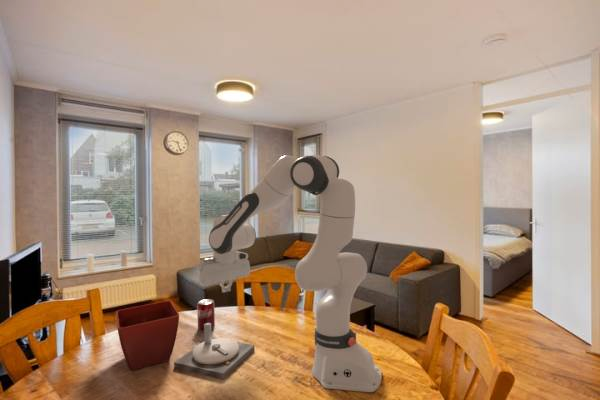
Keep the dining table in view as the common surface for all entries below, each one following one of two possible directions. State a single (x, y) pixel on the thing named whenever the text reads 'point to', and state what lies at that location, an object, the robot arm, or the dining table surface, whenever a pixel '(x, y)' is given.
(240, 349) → the dial base
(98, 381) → the dining table surface
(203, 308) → the soda can
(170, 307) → the plant pot
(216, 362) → the dial
